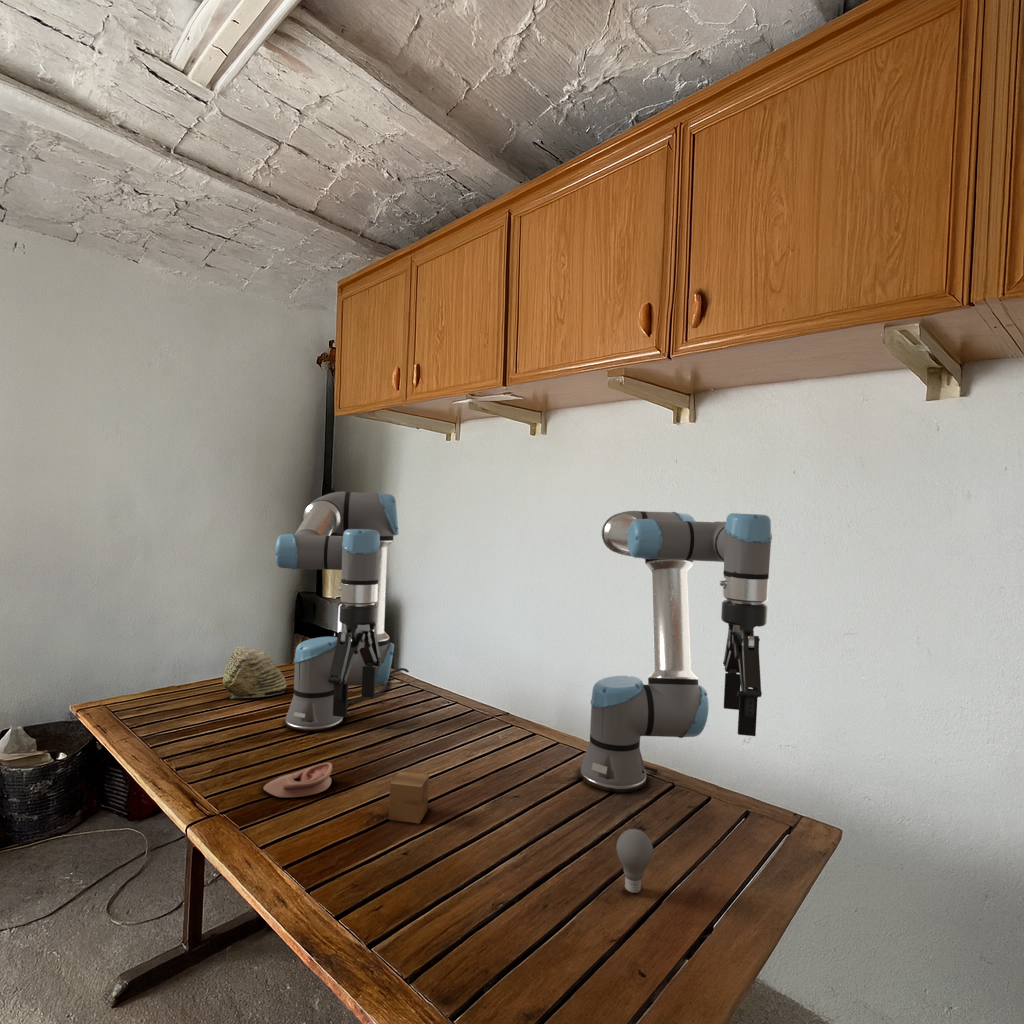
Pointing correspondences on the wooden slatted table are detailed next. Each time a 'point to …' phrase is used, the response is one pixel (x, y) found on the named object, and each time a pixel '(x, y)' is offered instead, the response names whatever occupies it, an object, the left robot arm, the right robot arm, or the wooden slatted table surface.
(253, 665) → the fossil
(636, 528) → the right robot arm
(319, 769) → the anatomical model
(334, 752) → the wooden slatted table surface
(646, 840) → the light bulb
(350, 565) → the left robot arm
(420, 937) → the wooden slatted table surface
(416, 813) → the block
